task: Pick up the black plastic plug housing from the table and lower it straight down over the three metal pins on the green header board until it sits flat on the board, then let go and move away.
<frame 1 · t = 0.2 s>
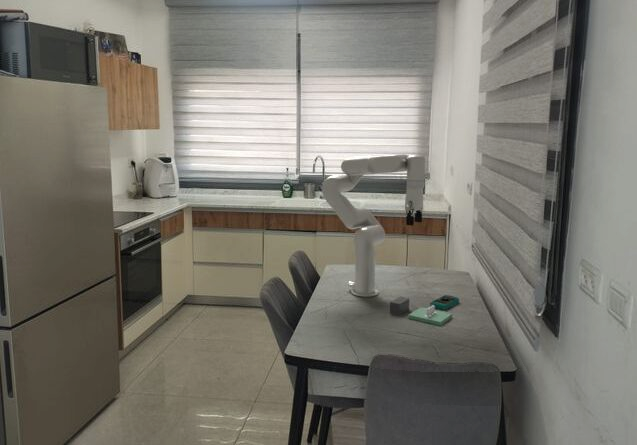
hand: (414, 223, 237), 36 cm above the table, tool pointing down, fingers open, 9 cm apart
plug housing: (399, 311, 232), on the table
header board: (430, 317, 224), on the table
digital multimeter: (444, 306, 242), on the table
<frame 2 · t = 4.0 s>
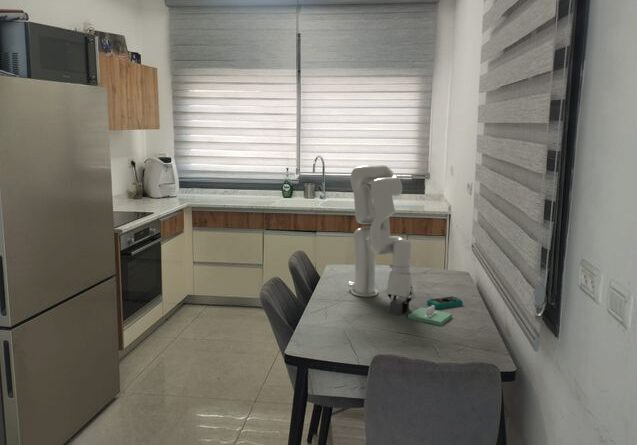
hand: (399, 310, 232), 0 cm above the table, tool pointing down, fingers closed on plug housing, 4 cm apart
plug housing: (399, 311, 232), on the table, touching gripper
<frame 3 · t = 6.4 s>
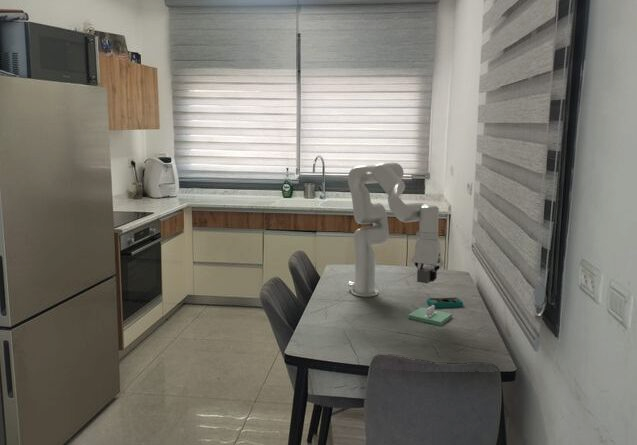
hand: (427, 279, 223), 16 cm above the table, tool pointing down, fingers closed on plug housing, 4 cm apart
plug housing: (426, 280, 223), point 16 cm above the table, touching gripper
when the fingers open (2 cm above the table, at t = 8.8 s): plug housing stays where it is, resting on header board.
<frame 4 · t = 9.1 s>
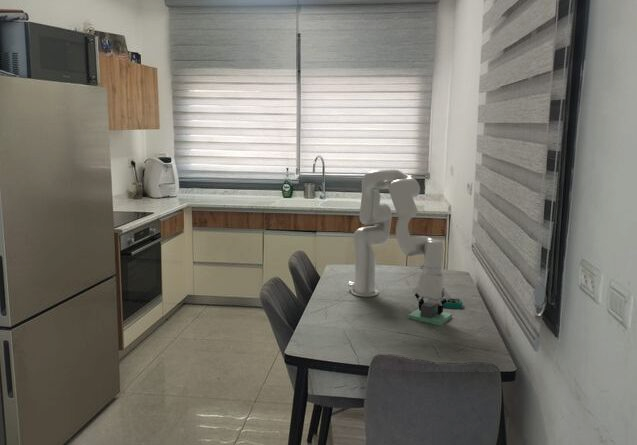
hand: (430, 311, 224), 3 cm above the table, tool pointing down, fingers open, 7 cm apart
plug housing: (430, 314, 224), point 1 cm above the table, touching header board
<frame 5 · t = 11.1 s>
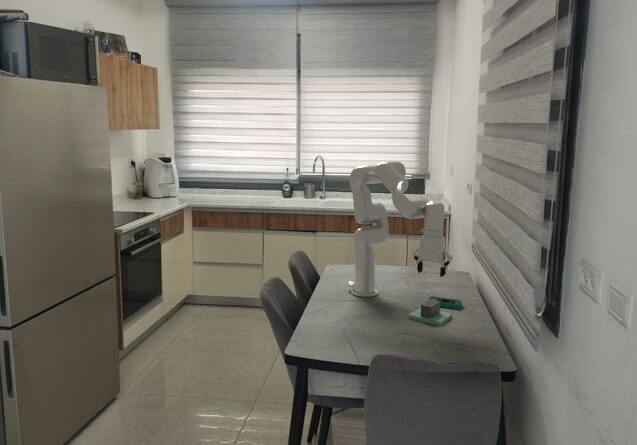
hand: (431, 274, 222), 18 cm above the table, tool pointing down, fingers open, 9 cm apart
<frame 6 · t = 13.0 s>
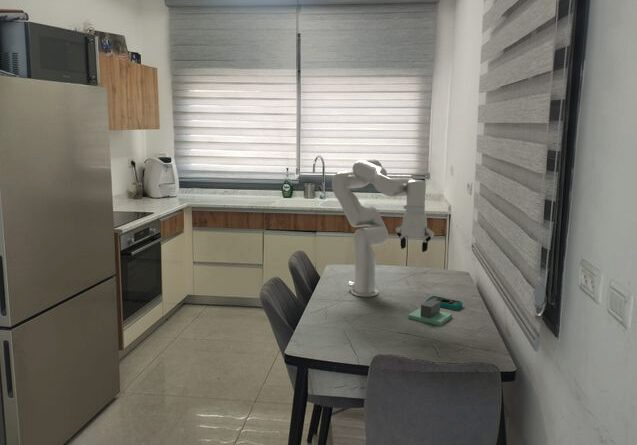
hand: (413, 249, 230), 26 cm above the table, tool pointing down, fingers open, 9 cm apart
at the end: plug housing 0.0 cm off-centre on the header board, point 1.5 cm above the header board's base; plug housing tilted 0°; the gripper is holding nothing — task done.
